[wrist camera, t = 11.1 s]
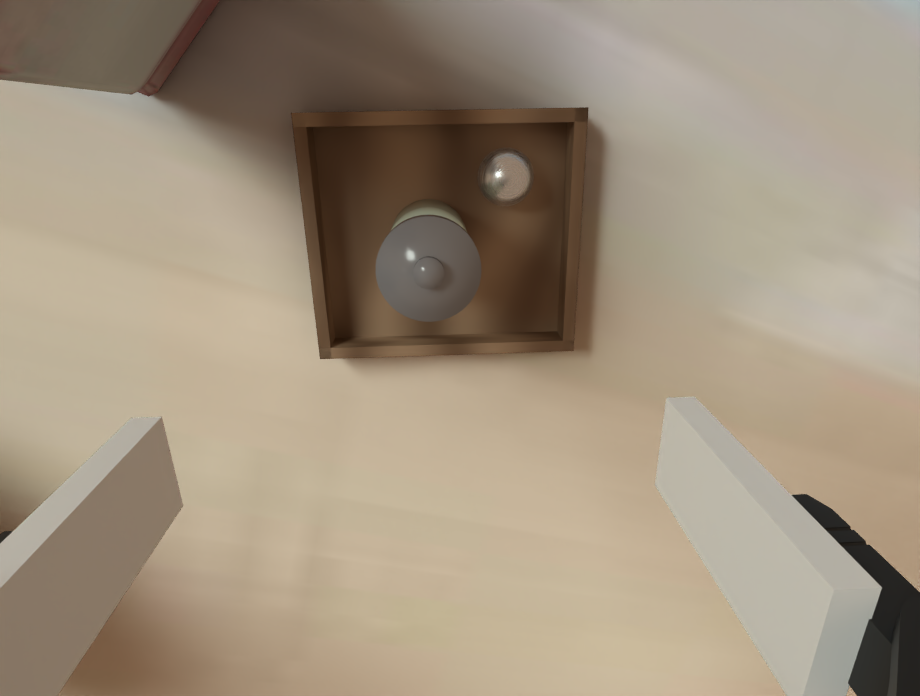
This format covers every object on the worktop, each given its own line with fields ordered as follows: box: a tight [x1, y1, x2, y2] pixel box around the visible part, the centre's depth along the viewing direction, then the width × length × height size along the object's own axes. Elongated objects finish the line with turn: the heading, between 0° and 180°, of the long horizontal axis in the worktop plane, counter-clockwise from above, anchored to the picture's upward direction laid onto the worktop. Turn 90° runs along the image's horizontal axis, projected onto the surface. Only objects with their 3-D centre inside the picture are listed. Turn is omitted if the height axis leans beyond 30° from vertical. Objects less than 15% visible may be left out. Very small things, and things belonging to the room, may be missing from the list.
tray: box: [291, 108, 588, 359], centre depth 38 cm, size 18×16×2 cm
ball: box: [477, 147, 534, 206], centre depth 36 cm, size 4×4×4 cm
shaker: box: [376, 199, 481, 322], centre depth 34 cm, size 6×6×11 cm
